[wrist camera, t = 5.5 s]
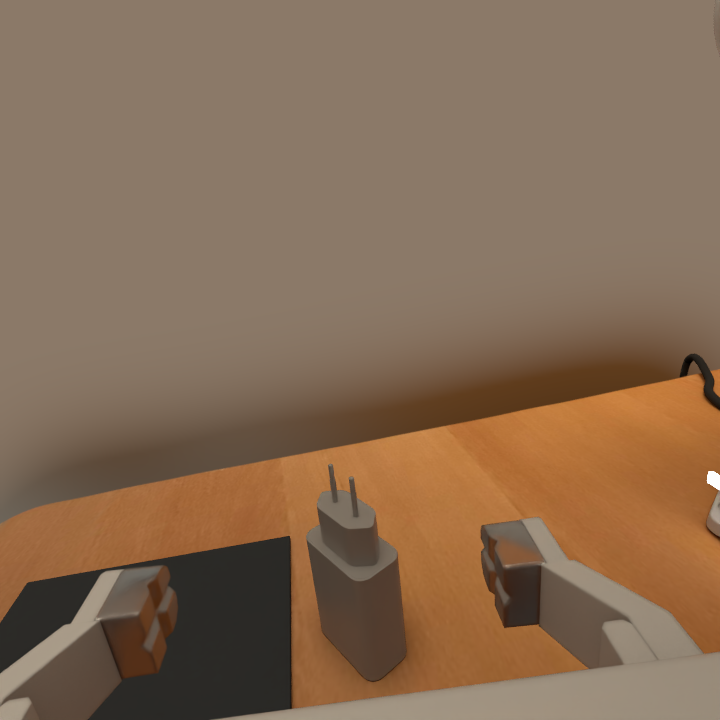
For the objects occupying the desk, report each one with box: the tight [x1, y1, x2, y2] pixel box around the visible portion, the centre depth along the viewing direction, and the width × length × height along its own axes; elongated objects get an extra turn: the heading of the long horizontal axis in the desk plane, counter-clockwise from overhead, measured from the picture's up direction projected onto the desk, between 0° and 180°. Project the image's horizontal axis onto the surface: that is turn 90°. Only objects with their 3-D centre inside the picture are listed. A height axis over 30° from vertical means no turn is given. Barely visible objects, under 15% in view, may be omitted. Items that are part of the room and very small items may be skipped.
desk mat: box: [0, 536, 291, 720], centre depth 31 cm, size 20×14×1 cm
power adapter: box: [306, 464, 406, 681], centre depth 27 cm, size 3×5×12 cm, turn 40°
